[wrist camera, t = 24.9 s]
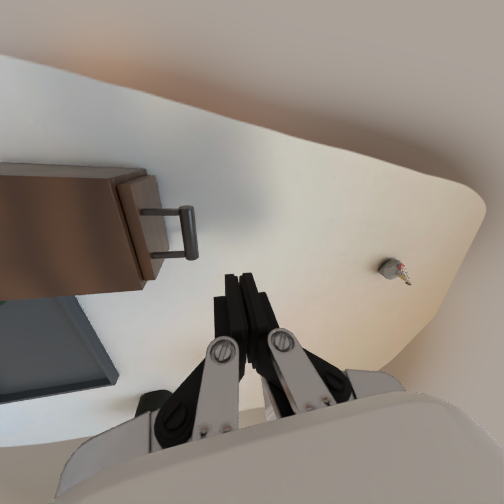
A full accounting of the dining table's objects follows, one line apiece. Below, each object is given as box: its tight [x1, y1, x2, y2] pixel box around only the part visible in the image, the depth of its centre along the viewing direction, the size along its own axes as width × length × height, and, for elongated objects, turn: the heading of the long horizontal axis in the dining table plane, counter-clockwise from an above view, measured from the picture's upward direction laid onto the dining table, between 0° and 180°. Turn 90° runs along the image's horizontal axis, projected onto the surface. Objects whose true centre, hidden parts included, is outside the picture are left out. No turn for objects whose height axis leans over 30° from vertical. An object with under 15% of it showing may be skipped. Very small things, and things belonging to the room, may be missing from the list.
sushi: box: [134, 390, 172, 418], centre depth 44 cm, size 8×8×8 cm
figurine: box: [380, 259, 411, 285], centre depth 37 cm, size 5×4×6 cm
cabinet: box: [0, 163, 147, 301], centre depth 20 cm, size 15×12×10 cm
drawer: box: [115, 175, 199, 281], centre depth 20 cm, size 18×10×8 cm, turn 87°
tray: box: [0, 295, 119, 404], centre depth 30 cm, size 31×21×2 cm
